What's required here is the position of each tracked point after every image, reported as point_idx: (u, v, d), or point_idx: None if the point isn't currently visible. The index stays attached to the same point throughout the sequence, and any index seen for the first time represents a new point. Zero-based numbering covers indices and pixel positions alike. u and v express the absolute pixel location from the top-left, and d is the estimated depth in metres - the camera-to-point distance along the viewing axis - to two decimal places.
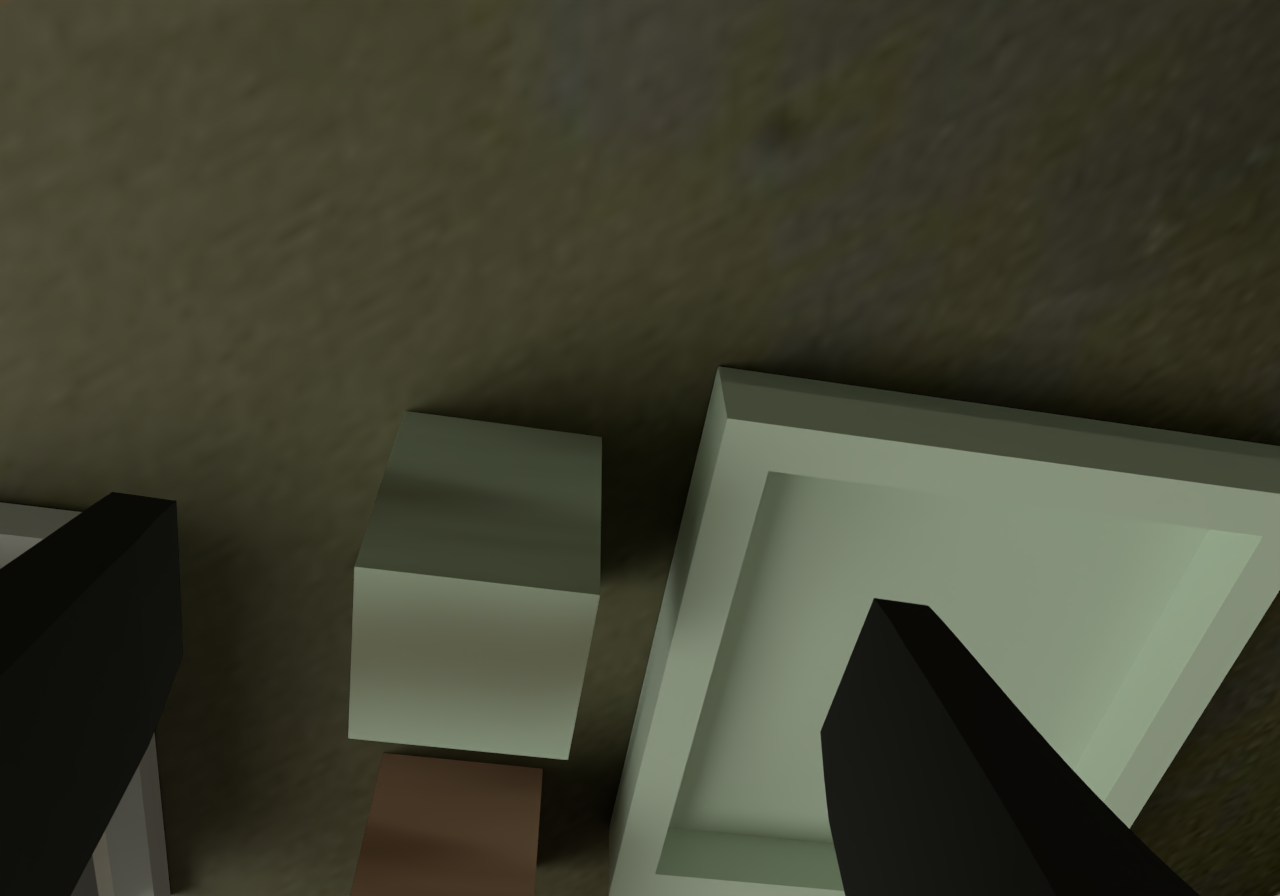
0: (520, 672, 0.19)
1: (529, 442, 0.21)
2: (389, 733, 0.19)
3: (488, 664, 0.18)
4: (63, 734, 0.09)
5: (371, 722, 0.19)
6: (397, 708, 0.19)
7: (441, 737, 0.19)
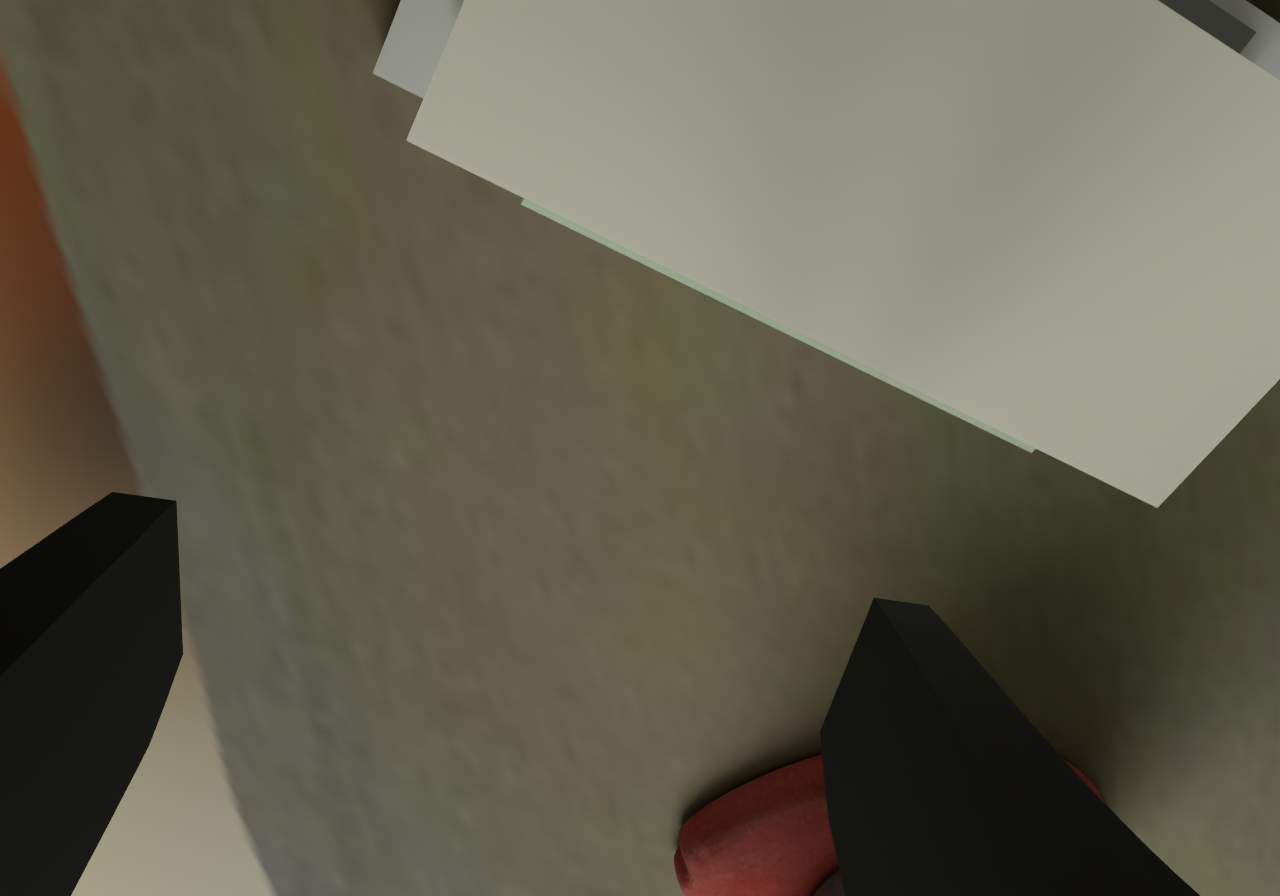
0: None
1: None
2: None
3: None
4: (65, 733, 0.09)
5: None
6: None
7: None
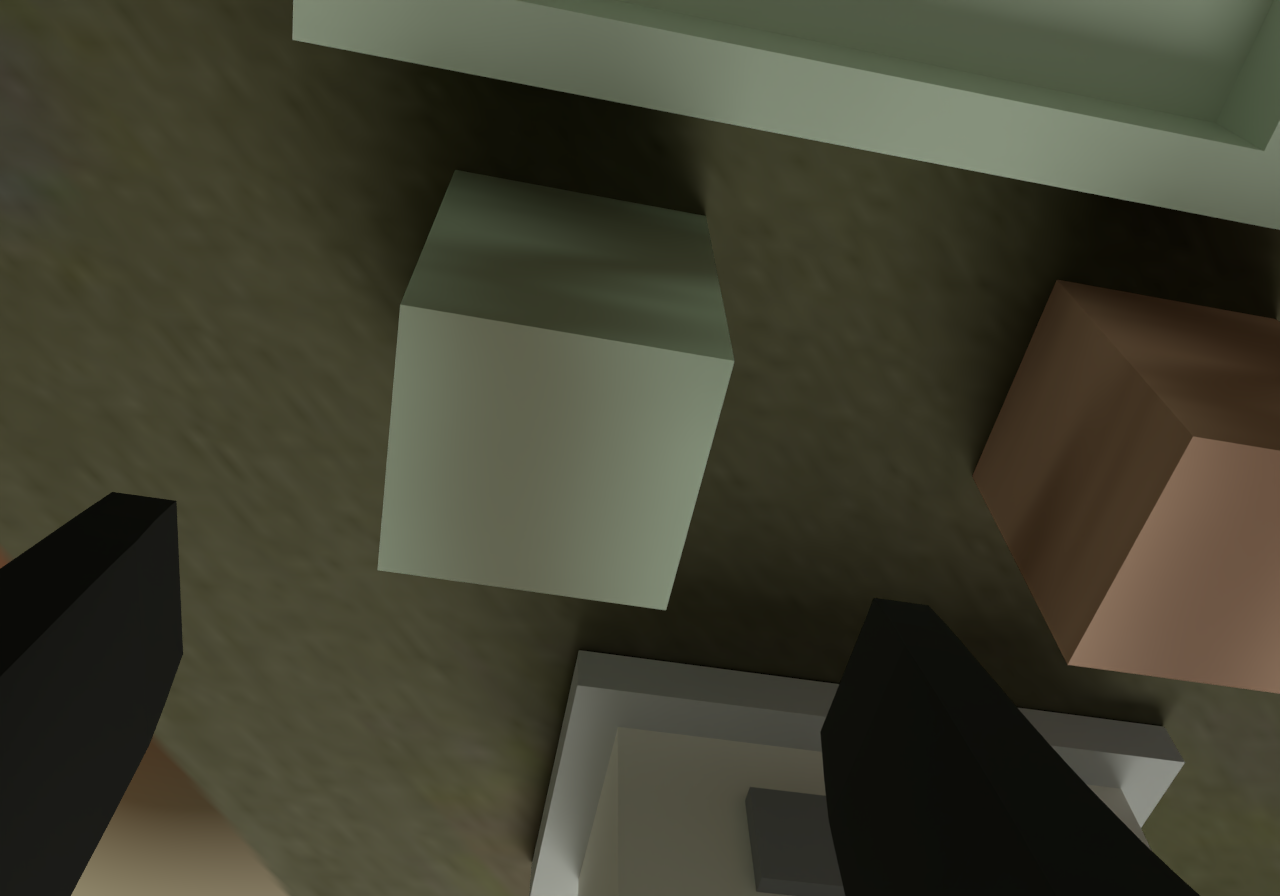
0: (549, 412, 0.13)
1: None
2: (660, 567, 0.15)
3: (535, 447, 0.14)
4: (65, 733, 0.09)
5: (637, 584, 0.15)
6: (615, 554, 0.14)
7: (673, 512, 0.14)
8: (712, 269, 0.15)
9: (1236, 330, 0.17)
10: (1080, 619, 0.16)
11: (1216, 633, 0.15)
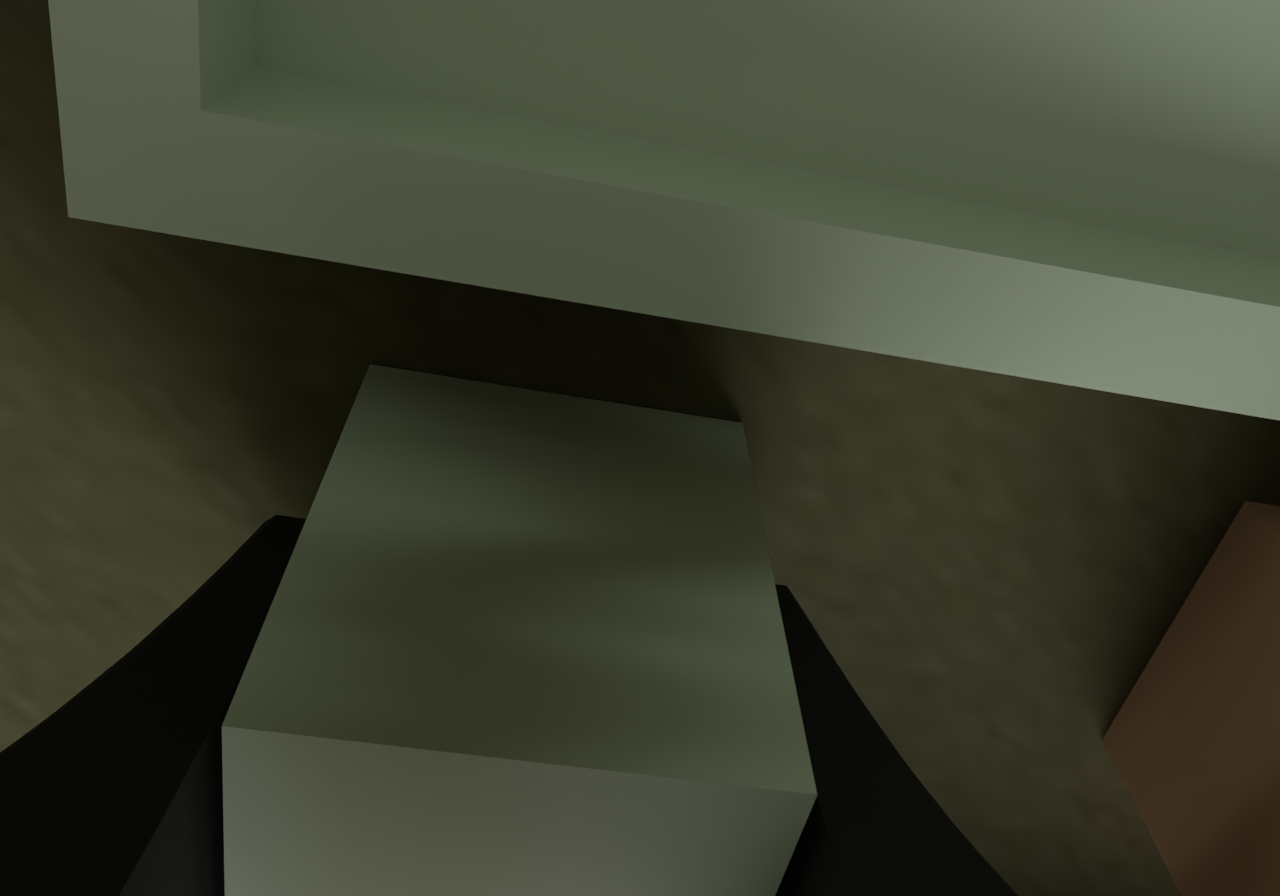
0: (497, 865, 0.08)
1: None
2: None
3: None
4: None
5: None
6: None
7: None
8: (760, 548, 0.10)
9: None
10: None
11: None
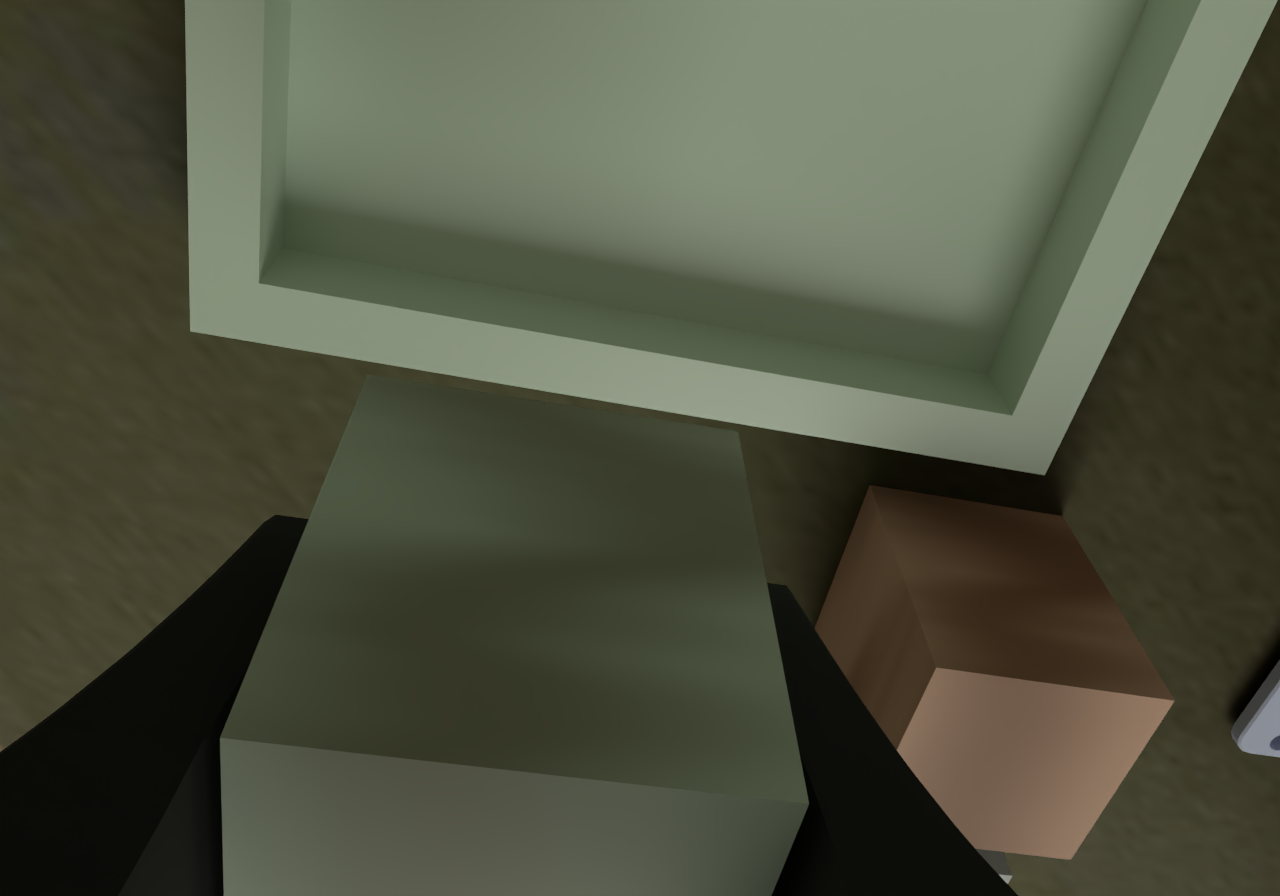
0: (493, 872, 0.08)
1: None
2: None
3: None
4: None
5: None
6: None
7: None
8: (754, 557, 0.10)
9: (1019, 534, 0.20)
10: None
11: (978, 811, 0.18)
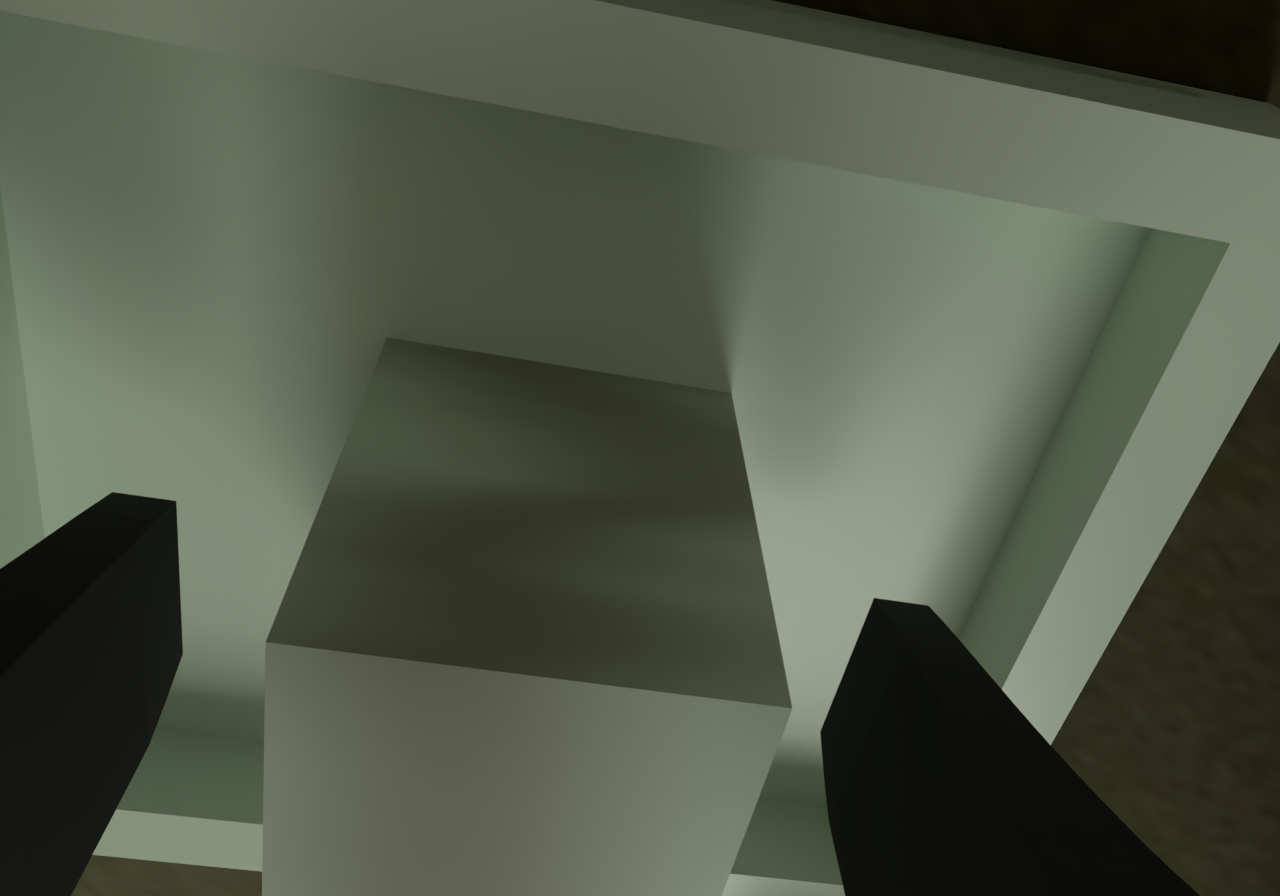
0: (507, 774, 0.09)
1: None
2: None
3: (487, 817, 0.09)
4: (63, 733, 0.09)
5: None
6: None
7: (695, 889, 0.10)
8: (745, 502, 0.11)
9: None
10: None
11: None
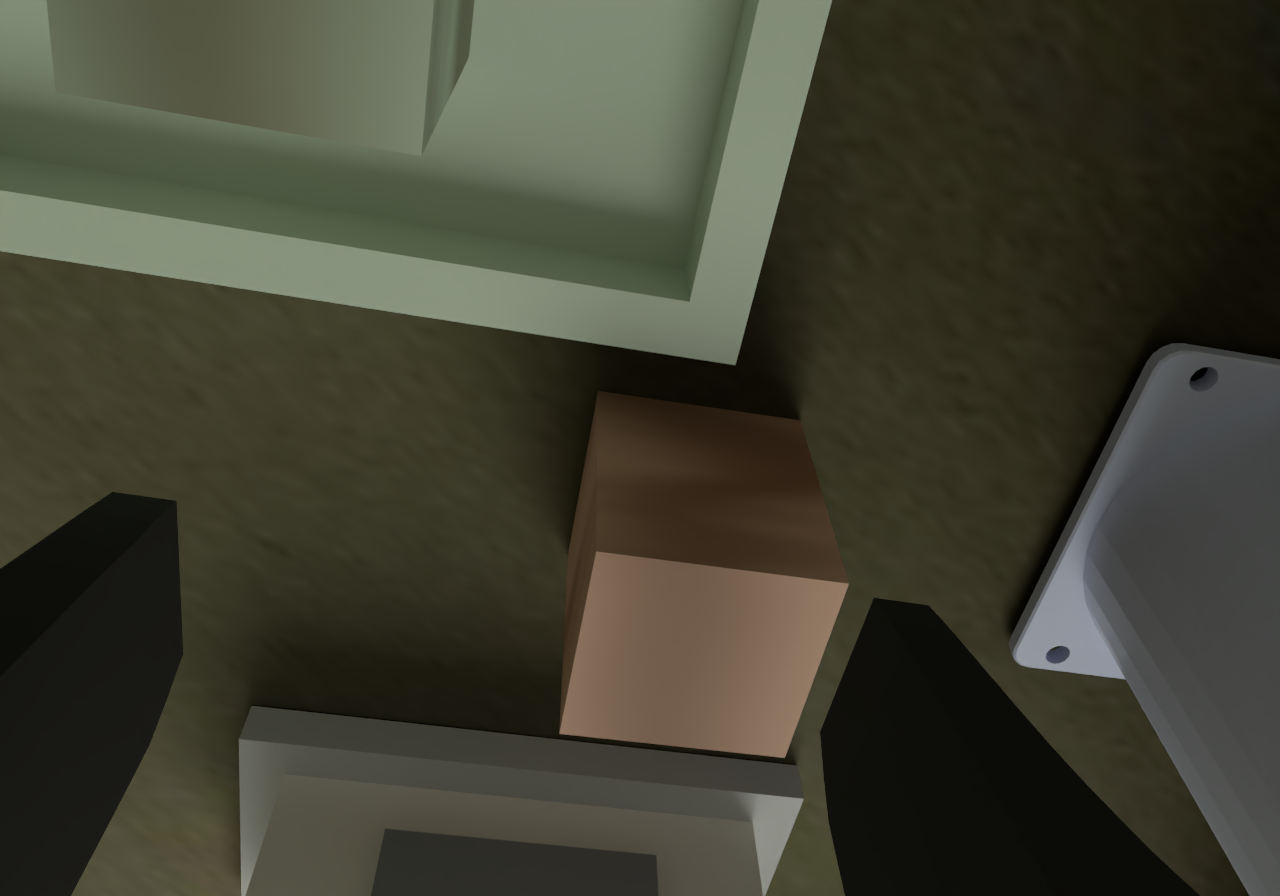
0: None
1: None
2: (405, 88, 0.12)
3: None
4: (65, 733, 0.09)
5: (380, 114, 0.12)
6: (346, 67, 0.12)
7: None
8: None
9: (744, 436, 0.20)
10: (565, 695, 0.18)
11: (678, 706, 0.18)
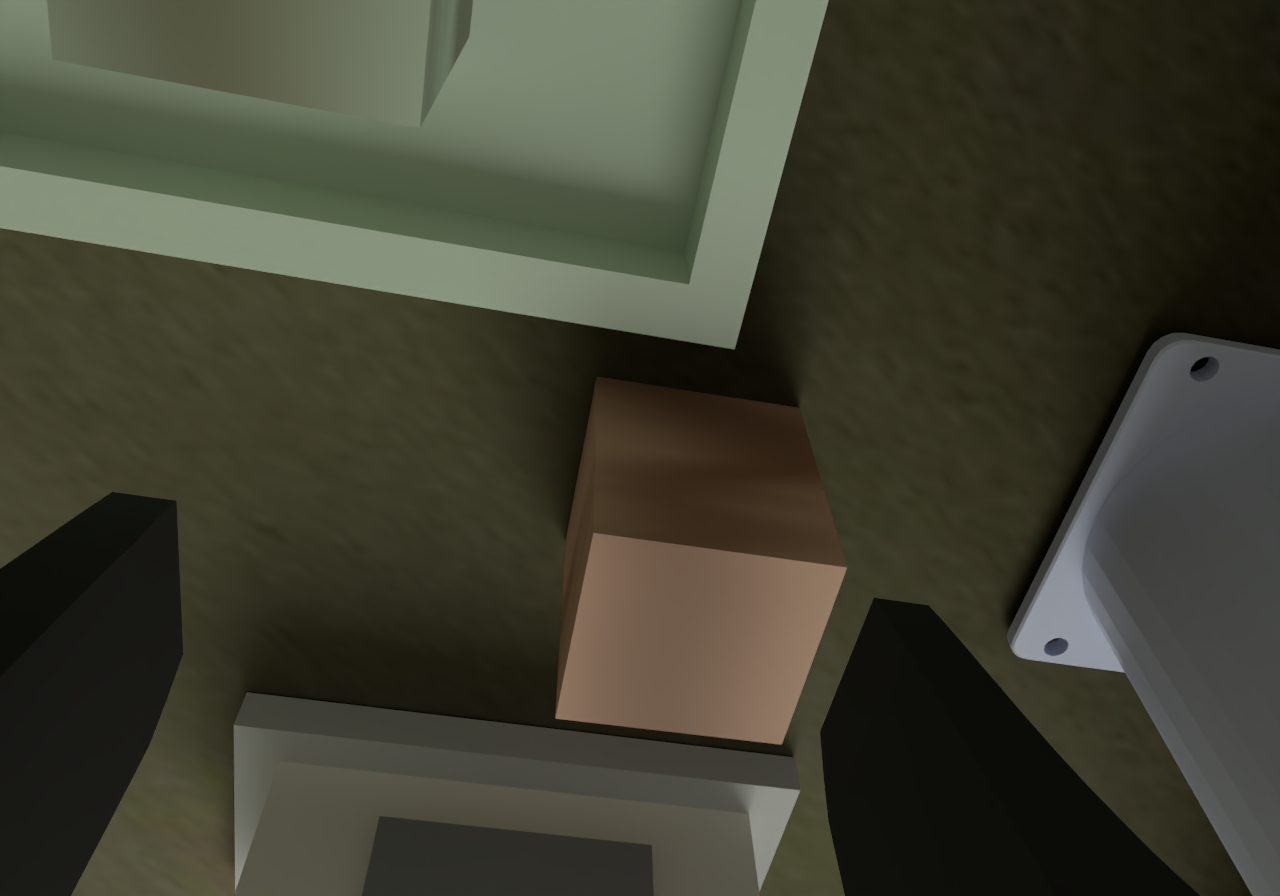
0: None
1: None
2: (404, 59, 0.12)
3: None
4: (63, 735, 0.09)
5: (379, 84, 0.12)
6: (346, 36, 0.12)
7: None
8: None
9: (743, 422, 0.20)
10: (561, 680, 0.18)
11: (674, 691, 0.18)
